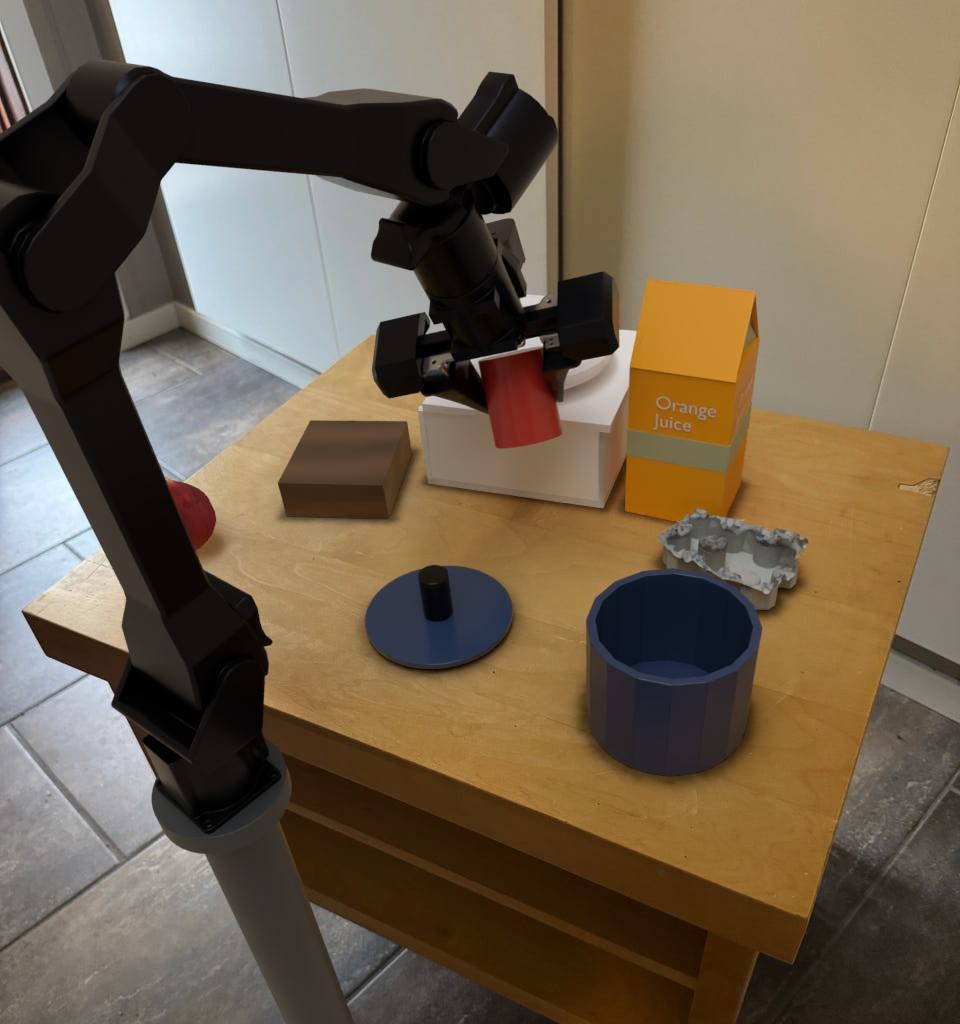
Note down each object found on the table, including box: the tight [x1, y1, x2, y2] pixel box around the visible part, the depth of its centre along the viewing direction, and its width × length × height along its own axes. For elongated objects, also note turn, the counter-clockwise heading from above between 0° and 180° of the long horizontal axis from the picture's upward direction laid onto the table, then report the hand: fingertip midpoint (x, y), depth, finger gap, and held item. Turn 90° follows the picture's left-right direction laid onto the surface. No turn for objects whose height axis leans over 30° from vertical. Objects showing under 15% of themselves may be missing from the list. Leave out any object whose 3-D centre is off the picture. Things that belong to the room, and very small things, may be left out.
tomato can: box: [478, 346, 563, 449], centre depth 78 cm, size 6×6×7 cm
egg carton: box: [656, 508, 809, 611], centre depth 79 cm, size 11×8×4 cm
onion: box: [165, 476, 217, 552], centre depth 86 cm, size 6×6×8 cm
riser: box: [277, 419, 413, 520], centre depth 93 cm, size 11×10×4 cm
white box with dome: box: [417, 293, 637, 509], centre depth 91 cm, size 18×18×16 cm
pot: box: [585, 568, 763, 777], centre depth 67 cm, size 11×11×9 cm
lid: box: [364, 564, 514, 670], centre depth 77 cm, size 12×12×5 cm
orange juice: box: [624, 278, 761, 523], centre depth 82 cm, size 8×9×20 cm
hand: (527, 403), depth 79 cm, fingers closed on tomato can, 5 cm apart
